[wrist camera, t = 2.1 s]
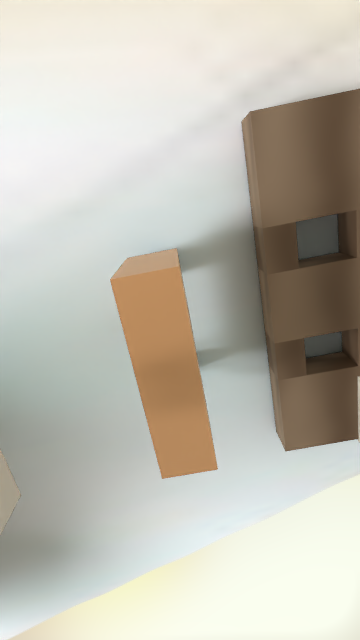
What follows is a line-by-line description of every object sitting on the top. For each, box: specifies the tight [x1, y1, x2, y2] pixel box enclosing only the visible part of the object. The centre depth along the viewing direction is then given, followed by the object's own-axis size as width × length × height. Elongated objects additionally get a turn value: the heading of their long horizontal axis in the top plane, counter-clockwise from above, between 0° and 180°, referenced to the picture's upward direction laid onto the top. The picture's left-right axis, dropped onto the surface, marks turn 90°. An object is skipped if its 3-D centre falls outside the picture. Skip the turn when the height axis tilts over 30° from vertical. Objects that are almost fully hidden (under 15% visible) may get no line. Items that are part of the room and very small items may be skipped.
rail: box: [242, 89, 360, 451], centre depth 24 cm, size 8×24×2 cm, turn 11°
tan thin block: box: [110, 248, 218, 479], centre depth 21 cm, size 3×11×10 cm, turn 11°
